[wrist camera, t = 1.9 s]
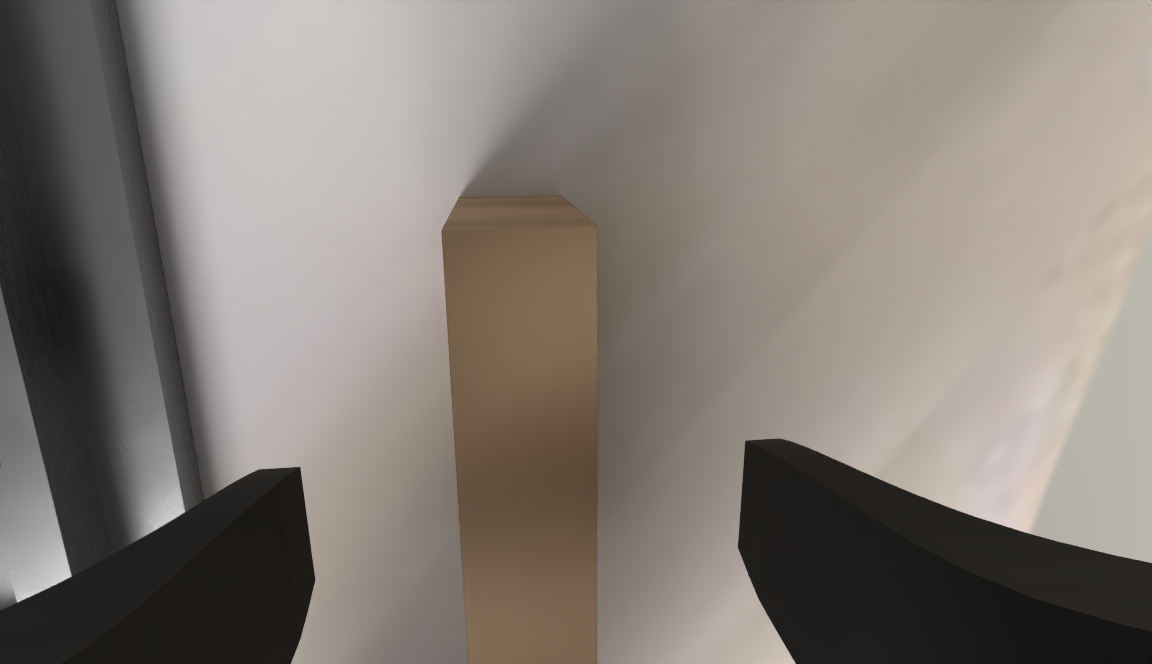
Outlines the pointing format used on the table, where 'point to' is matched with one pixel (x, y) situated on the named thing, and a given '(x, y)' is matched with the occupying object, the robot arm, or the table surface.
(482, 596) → the door panel
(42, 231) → the floor track
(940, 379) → the table surface
